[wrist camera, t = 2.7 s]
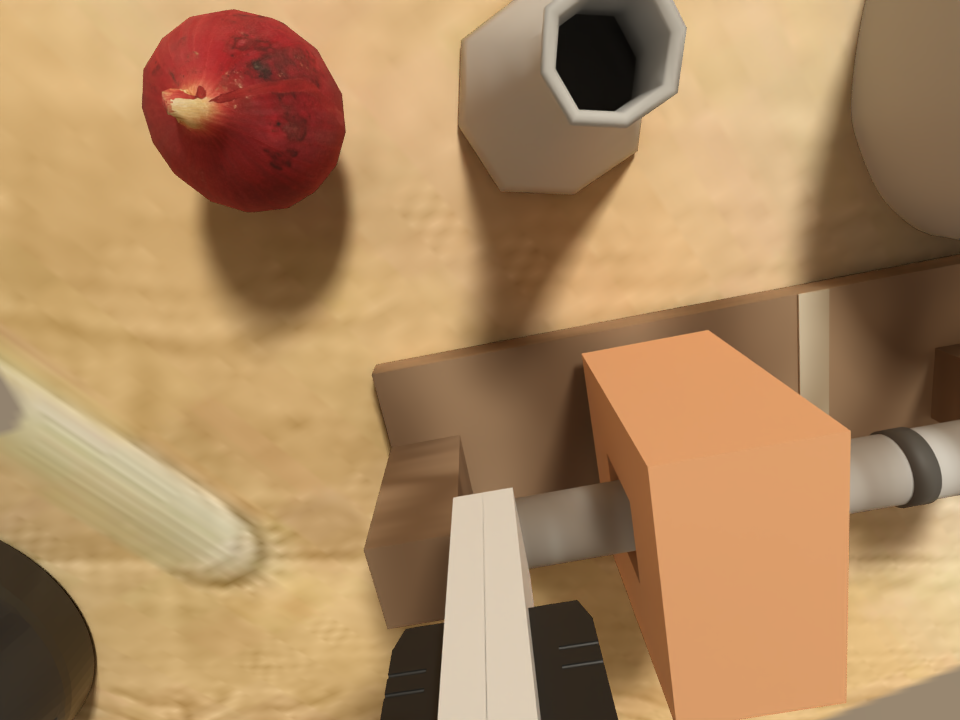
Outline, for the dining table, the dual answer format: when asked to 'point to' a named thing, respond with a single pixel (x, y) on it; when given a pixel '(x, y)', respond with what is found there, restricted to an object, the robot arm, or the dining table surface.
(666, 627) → the collar
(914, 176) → the lumpy-topped squat cylinder
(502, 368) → the pipe stand
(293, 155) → the onion
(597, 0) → the flask
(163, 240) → the dining table surface
